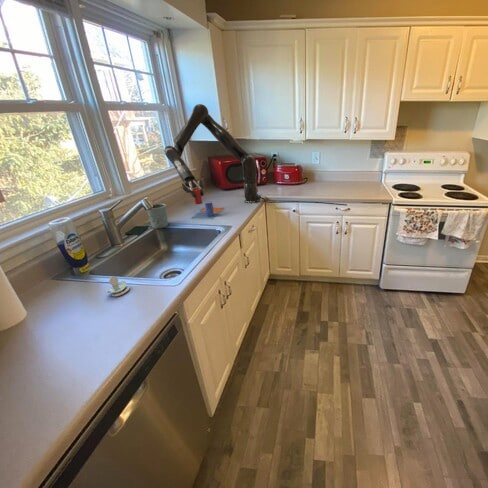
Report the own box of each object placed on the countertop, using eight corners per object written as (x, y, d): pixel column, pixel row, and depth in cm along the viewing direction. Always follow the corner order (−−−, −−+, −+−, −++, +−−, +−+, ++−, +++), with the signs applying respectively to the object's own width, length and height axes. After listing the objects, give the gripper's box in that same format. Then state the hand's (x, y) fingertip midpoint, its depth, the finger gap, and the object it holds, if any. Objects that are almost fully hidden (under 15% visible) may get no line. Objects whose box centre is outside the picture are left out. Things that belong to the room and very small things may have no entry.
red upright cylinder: (203, 202, 179) (201, 188, 175) (200, 204, 175) (198, 190, 171) (196, 202, 180) (194, 188, 176) (193, 204, 175) (191, 190, 172)
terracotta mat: (224, 208, 195) (224, 207, 195) (219, 212, 187) (219, 211, 187) (206, 207, 196) (206, 207, 196) (200, 211, 188) (200, 211, 187)
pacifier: (134, 288, 105) (121, 285, 106) (130, 274, 102) (117, 271, 104) (117, 299, 98) (103, 296, 100) (112, 284, 96) (98, 281, 97)
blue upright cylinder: (215, 214, 181) (213, 201, 177) (212, 217, 177) (210, 203, 173) (208, 214, 181) (206, 201, 178) (205, 216, 177) (203, 203, 173)
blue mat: (217, 213, 184) (217, 213, 184) (212, 219, 175) (211, 218, 174) (198, 213, 184) (198, 212, 184) (191, 218, 175) (191, 217, 175)
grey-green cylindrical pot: (150, 229, 157) (145, 209, 152) (150, 224, 165) (145, 204, 160) (170, 227, 161) (166, 207, 156) (169, 221, 170) (165, 202, 164)
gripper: (175, 171, 168) (190, 194, 166) (197, 168, 178) (211, 190, 177) (173, 179, 173) (186, 201, 172) (194, 175, 183) (207, 197, 182)
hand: (199, 195), depth 174 cm, fingers closed on red upright cylinder, 4 cm apart
